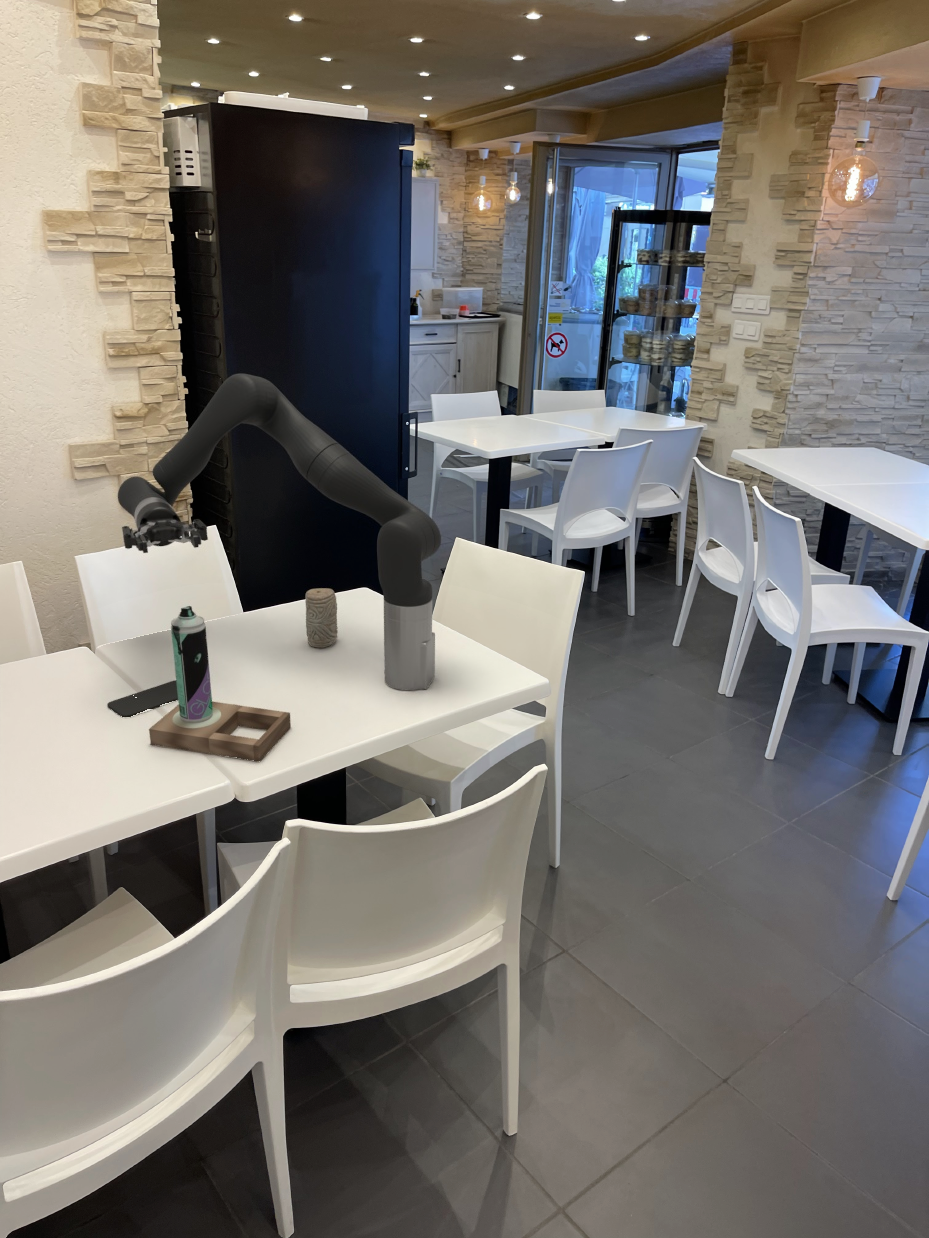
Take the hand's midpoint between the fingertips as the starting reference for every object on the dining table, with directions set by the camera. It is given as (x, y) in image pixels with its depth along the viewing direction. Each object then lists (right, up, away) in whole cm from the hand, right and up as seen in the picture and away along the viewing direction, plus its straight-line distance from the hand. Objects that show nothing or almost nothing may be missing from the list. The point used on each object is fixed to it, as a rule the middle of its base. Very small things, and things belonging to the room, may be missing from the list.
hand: (171, 544), depth 156 cm
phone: (-7, -28, +11) cm, 31 cm away
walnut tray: (+9, -33, -1) cm, 34 cm away
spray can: (+5, -30, -1) cm, 30 cm away
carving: (+20, -18, +37) cm, 46 cm away
